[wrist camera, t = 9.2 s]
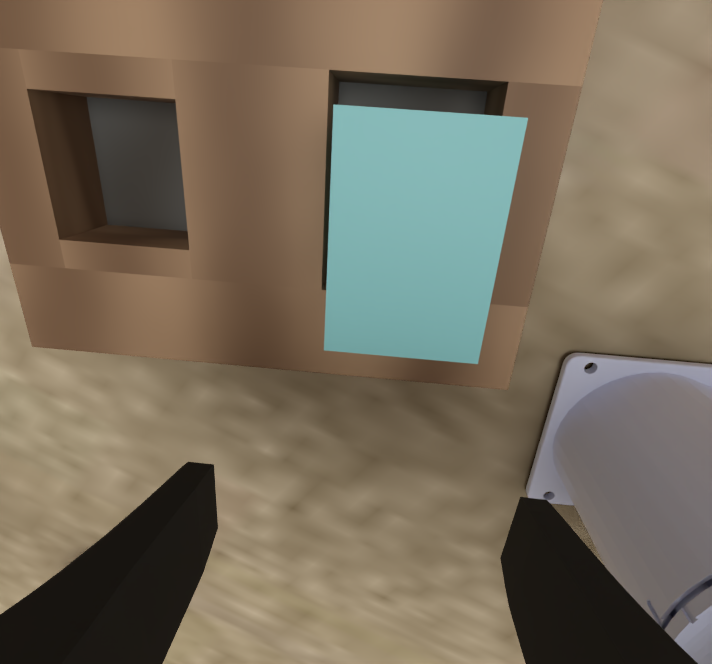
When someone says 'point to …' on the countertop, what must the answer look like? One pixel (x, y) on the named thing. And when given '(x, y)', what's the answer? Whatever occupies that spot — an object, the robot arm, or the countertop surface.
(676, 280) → the countertop surface
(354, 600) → the countertop surface
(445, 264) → the teal cuboid tower
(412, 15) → the socket board
